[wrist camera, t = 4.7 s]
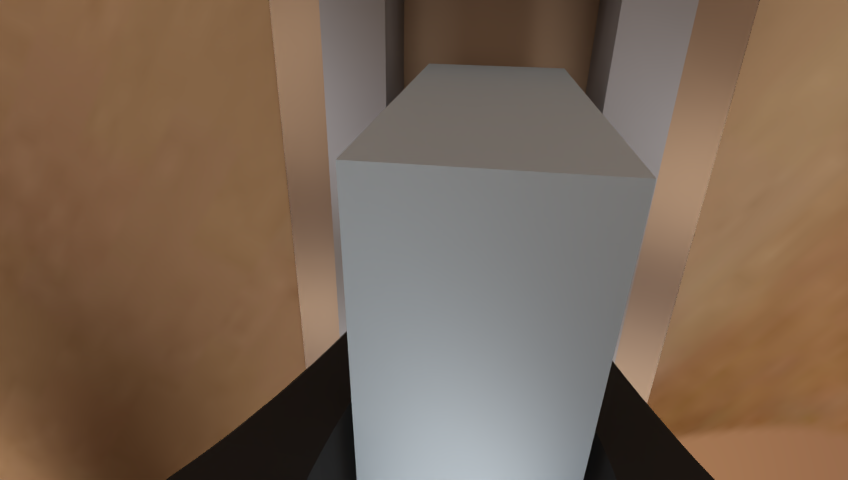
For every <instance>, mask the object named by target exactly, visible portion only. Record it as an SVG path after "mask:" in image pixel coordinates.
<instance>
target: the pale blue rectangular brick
mask: <svg viewBox="0 0 848 480" xmlns="http://www.w3.org/2000/svg"><path fill="white" fill-rule="evenodd" d="M336 175H337V190H338V205H339V220H340V235H341V250H342V265H343V280H344V295H345V310H346V325H347V340H348V355H349V370H350V385H351V400H352V415H353V430H354V445H355V460H356V476H357V480H583V479H584V475H585V471H586V467H587V463H588V459H589V454H590V450H591V446H592V442H593V438H594V434H595V430H596V426H597V422H598V418H599V413H600V409H601V405H602V401H603V397H604V393H605V389H606V385H607V381H608V376H609V372H610V368H611V364H612V360H613V356H614V352H615V348H616V344H617V340H618V335H619V331H620V327H621V323H622V319H623V315H624V311H625V307H626V303H627V298H628V294H629V290H630V286H631V282H632V278H633V274H634V270H635V266H636V261H637V257H638V253H639V249H640V245H641V241H642V237H643V233H644V229H645V225H646V220H647V216H648V212H649V208H650V204H651V200H652V196H653V192H654V188H655V183H656V178H655V176H654V175H653V174H652V173H651V172H650V170H649V169H648V168H647V167H646V166H645V164H644V163H643V162H642V161H641V160H640V158H639V157H638V156H637V155H636V154H635V152H634V151H633V150H632V149H631V148H630V146H629V145H628V144H627V143H626V142H625V140H624V139H623V138H622V137H621V136H620V134H619V133H618V132H617V131H616V130H615V128H614V127H613V126H612V125H611V124H610V122H609V121H608V120H607V119H606V118H605V116H604V115H603V114H602V113H601V112H600V110H599V109H598V108H597V107H596V106H595V104H594V103H593V102H592V101H591V100H590V98H589V97H588V96H587V95H586V94H585V93H584V91H583V90H582V89H581V88H580V87H579V85H578V84H577V83H576V82H575V81H574V79H573V78H572V77H571V76H570V75H569V73H568V72H567V71H566V70H565V69H564V68H538V67H511V66H483V65H456V64H428V65H427V66H426V67H425V68H424V69H423V70H422V71H421V72H420V73H419V74H418V75H417V76H416V77H415V78H414V79H413V81H412V82H411V83H410V84H409V85H408V86H407V87H406V88H405V89H404V90H403V91H402V92H401V93H400V94H399V95H398V96H397V97H396V98H395V99H394V100H393V101H392V102H391V103H390V104H389V105H388V106H387V107H386V108H385V109H384V110H383V111H382V112H381V113H380V114H379V115H378V117H377V118H376V119H375V120H374V121H373V122H372V123H371V124H370V125H369V126H368V127H367V128H366V129H365V130H364V131H363V132H362V133H361V134H360V135H359V136H358V137H357V138H356V139H355V140H354V141H353V142H352V143H351V144H350V145H349V146H348V147H347V148H346V149H345V150H344V151H343V152H342V154H341V155H340V156H339V157H338V158H337V159H336Z"/></svg>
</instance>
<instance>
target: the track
mask: <svg viewBox="0 0 848 480" xmlns="http://www.w3.org/2000/svg"><path fill="white" fill-rule="evenodd" d="M759 1H760V0H269V6H270V16H271V25H272V35H273V45H274V55H275V65H276V75H277V85H278V95H279V105H280V115H281V125H282V135H283V145H284V155H285V164H286V174H287V184H288V194H289V204H290V214H291V224H292V234H293V244H294V254H295V264H296V274H297V284H298V294H299V303H300V313H301V323H302V333H303V343H304V353H305V363H306V369H307V368H308V367H309V366H310V365H312V364H313V363H314V362H315V361H316V360H317V359H318V358H319V357H320V356H321V355H322V354H323V353H324V352H325V351H327V350H328V349H329V348H330V347H331V346H332V345H333V344H334V343H335V342H336V341H337V340H338V339H339V338H340V337H341V336H342V335H343V334H344V333H345V332H346V331H347V325H346V310H345V295H344V280H343V265H342V250H341V235H340V220H339V205H338V190H337V175H336V159H337V158H338V157H339V156H340V155H341V154H342V152H343V151H344V150H345V149H346V148H347V147H348V146H349V145H350V144H351V143H352V142H353V141H354V140H355V139H356V138H357V137H358V136H359V135H360V134H361V133H362V132H363V131H364V130H365V129H366V128H367V127H368V126H369V125H370V124H371V123H372V122H373V121H374V120H375V119H376V118H377V117H378V115H379V114H380V113H381V112H382V111H383V110H384V109H385V108H386V107H387V106H388V105H389V104H390V103H391V102H392V101H393V100H394V99H395V98H396V97H397V96H398V95H399V94H400V93H401V92H402V91H403V90H404V89H405V88H406V87H407V86H408V85H409V84H410V83H411V82H412V81H413V79H414V78H415V77H416V76H417V75H418V74H419V73H420V72H421V71H422V70H423V69H424V68H425V67H426V66H427V65H428V64H456V65H483V66H511V67H538V68H564V69H565V70H566V71H567V72H568V73H569V75H570V76H571V77H572V78H573V79H574V81H575V82H576V83H577V84H578V85H579V87H580V88H581V89H582V90H583V91H584V93H585V94H586V95H587V96H588V97H589V98H590V100H591V101H592V102H593V103H594V104H595V106H596V107H597V108H598V109H599V110H600V112H601V113H602V114H603V115H604V116H605V118H606V119H607V120H608V121H609V122H610V124H611V125H612V126H613V127H614V128H615V130H616V131H617V132H618V133H619V134H620V136H621V137H622V138H623V139H624V140H625V142H626V143H627V144H628V145H629V146H630V148H631V149H632V150H633V151H634V152H635V154H636V155H637V156H638V157H639V158H640V160H641V161H642V162H643V163H644V164H645V166H646V167H647V168H648V169H649V170H650V172H651V173H652V174H653V175H654V176H655V178H656V183H655V188H654V192H653V196H652V200H651V204H650V208H649V212H648V216H647V220H646V225H645V229H644V233H643V237H642V241H641V245H640V249H639V253H638V257H637V261H636V266H635V270H634V274H633V278H632V282H631V286H630V290H629V294H628V298H627V303H626V307H625V311H624V315H623V319H622V323H621V327H620V331H619V335H618V340H617V344H616V348H615V352H614V356H613V360H612V361H613V362H614V363H615V364H616V366H617V367H618V368H619V370H620V371H621V372H622V373H623V375H624V376H625V377H626V378H627V380H628V381H629V382H630V383H631V385H632V386H633V387H634V388H635V390H636V391H637V392H638V393H639V395H640V396H641V397H642V398H643V399H644V401H645V402H646V403H647V402H648V398H649V395H650V391H651V387H652V384H653V380H654V377H655V373H656V370H657V366H658V362H659V359H660V355H661V352H662V348H663V345H664V341H665V337H666V334H667V330H668V327H669V323H670V319H671V316H672V312H673V309H674V305H675V302H676V298H677V294H678V291H679V287H680V284H681V280H682V277H683V273H684V269H685V266H686V262H687V259H688V255H689V252H690V248H691V244H692V241H693V237H694V234H695V230H696V226H697V223H698V219H699V216H700V212H701V209H702V205H703V201H704V198H705V194H706V191H707V187H708V184H709V180H710V176H711V173H712V169H713V166H714V162H715V158H716V155H717V151H718V148H719V144H720V141H721V137H722V133H723V130H724V126H725V123H726V119H727V116H728V112H729V108H730V105H731V101H732V98H733V94H734V91H735V87H736V83H737V80H738V76H739V73H740V69H741V65H742V62H743V58H744V55H745V51H746V48H747V44H748V40H749V37H750V33H751V30H752V26H753V23H754V19H755V15H756V12H757V8H758V5H759Z"/></svg>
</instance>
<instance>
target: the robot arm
mask: <svg viewBox="0 0 848 480" xmlns="http://www.w3.org/2000/svg"><path fill="white" fill-rule="evenodd" d="M166 480H357V476H356V460H355V445H354V430H353V415H352V400H351V385H350V370H349V355H348V340H347V331H346V332H345V333H344V334H343V335H342V336H341V337H340V338H339V339H338V340H337V341H336V342H335V343H334V344H333V345H332V346H331V347H330V348H329V349H328V350H327V351H325V352H324V353H323V354H322V355H321V356H320V357H319V358H318V359H317V360H316V361H315V362H314V363H313V364H312V365H310V366H309V367H308V368H307V369H306V370H305V371H304V372H303V373H301V374H300V375H299V376H298V377H297V378H296V379H295V380H294V381H293V382H291V383H290V384H289V385H288V386H287V387H286V388H285V389H284V390H282V391H281V392H280V393H279V394H278V395H277V396H275V397H274V398H273V399H272V400H271V401H269V402H268V403H267V404H266V405H264V406H263V407H262V408H261V409H260V410H258V411H257V412H256V413H255V414H253V415H252V416H251V417H250V418H248V419H247V420H246V421H245V422H244V423H242V424H241V425H240V426H239V427H237V428H236V429H235V430H234V431H232V432H231V433H230V434H229V435H227V436H226V437H225V438H223V439H222V440H221V441H219V442H218V443H217V444H215V445H214V446H213V447H211V448H210V449H209V450H207V451H206V452H205V453H203V454H202V455H200V456H199V457H198V458H196V459H195V460H194V461H192V462H191V463H189V464H188V465H186V466H185V467H183V468H182V469H181V470H179V471H178V472H176V473H175V474H173V475H172V476H171V477H169V478H168V479H166ZM583 480H714V479H713V478H712V476H711V475H709V473H708V472H707V471H706V470H705V469H704V468H703V467H702V466H701V465H700V464H699V463H698V462H697V461H696V460H695V458H693V456H692V455H691V454H690V453H689V452H688V451H687V450H686V448H684V446H683V445H682V444H681V443H680V442H679V440H678V439H677V438H676V437H675V436H674V435H673V434H672V432H671V431H670V430H669V429H668V428H667V427H666V425H665V424H664V423H663V422H662V421H661V420H660V418H659V417H658V416H657V415H656V414H655V413H654V411H653V410H652V409H651V408H650V407H649V405H648V404H647V403H646V402H645V401H644V399H643V398H642V397H641V396H640V395H639V393H638V392H637V391H636V390H635V388H634V387H633V386H632V385H631V383H630V382H629V381H628V380H627V378H626V377H625V376H624V375H623V373H622V372H621V371H620V370H619V368H618V367H617V366H616V364H615V363H614V362H613V361H612V364H611V368H610V372H609V376H608V381H607V385H606V389H605V393H604V397H603V401H602V405H601V409H600V413H599V418H598V422H597V426H596V430H595V434H594V438H593V442H592V446H591V450H590V454H589V459H588V463H587V467H586V471H585V475H584V479H583Z"/></svg>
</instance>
